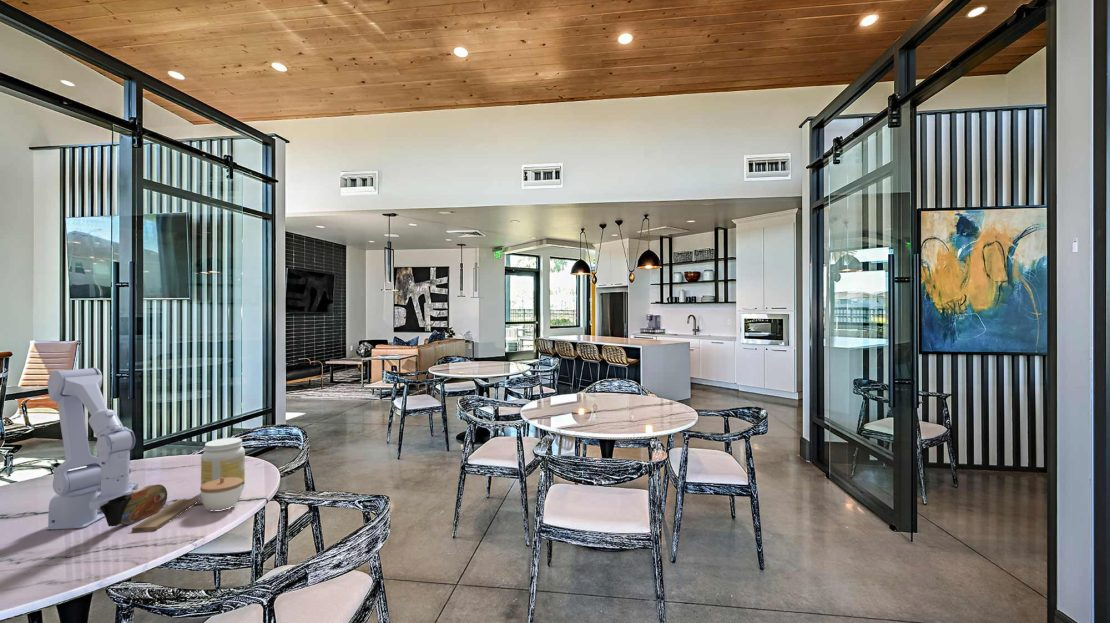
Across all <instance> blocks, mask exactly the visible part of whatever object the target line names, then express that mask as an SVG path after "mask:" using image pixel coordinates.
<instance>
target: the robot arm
mask: <svg viewBox="0 0 1110 623" xmlns="http://www.w3.org/2000/svg"><path fill="white" fill-rule="evenodd" d="M46 384H47V390H48V391H47V392H48V396H49V401H50V402H54V403H56V404H57V410H58V411H57V412H58V416H59V423H60V430H61V436H62V437H61V438H62V442H63V449H64V456H65V460H64V461H63V462H61V463H60V464H59V465H58V466H57V467H56V468H55V469H54V470H53V473H52V474H53V478H52V488H53V489H52V490H53V491H54V493H55V495H54V496H52V498H51V499H50V501H49V504H48V518H47V520H48V521H47V523H48V524H47V525H48V526H47V527H45V530H46V531H47V530H49V529H51V530H65V529H66V530H67V529H83V528H86V527H88V526H89V525H92V524H93V523H96V522H97V521H99V520H101V519H103V518H105V520H106V523H107V526H108V527H117V526H120V525H121V524H120V523H121V520H122V516H123V513H124V511H125V508H126V506H127V505H128V503H129V501H130V500H131V496H125V495H129V494H131V493H133V492H134V491H136V490H139V489H138V488H139V482H136V481H135V482H130V474H129V468H130V464H131V458H130V457H131V455H130V454H131V452H130V451H131V450H133V449H134V447H135V445H136V435H135V432H134V431H133V430H132V429H130V428H128V427H127V426H124V425H123V423H122V421H121V420H120V418H119V417H118V415H117V412H116V411H115V410H113V409H110V408H109V409H108V407H107V406H108V405H107V404H106V401H105V399H104V396H103V393H102V390H101V388H102V384H103V374H102V371H101V370H100V369H99V368H98V367H90V368H79V369H78V368H77V369H67V370H66V369H65V370H57V369H56V370H53V371H52V372H51V373H50V375H49V376H48V379H47V382H46ZM84 407H85V408H86V410H87V411H88V413H89V414H90V417H88V424H89V426H90V427H91V429H92V431H93V433H94V435H95V436H96V438H97V440H96V444H95V449H96V452H97V454H98V457H99V458H98V457H95V455H92V454H91V451H90V444H89V439H88V432H87V425H86V419H85V413H84ZM87 466H89V467H87ZM99 490H100V493H99V492H98V491H99ZM99 509H100V510H101V512H102V513H103V514H98V510H99Z"/></svg>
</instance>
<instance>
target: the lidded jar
mask: <svg viewBox="0 0 1110 623" xmlns="http://www.w3.org/2000/svg"><path fill="white" fill-rule="evenodd" d="M242 483H243V480H242V479H241V478H236V477H229V478H224V477H222V478H220V479H216V480H212V481H209V482H206V483H204V484H203V485H201V484H200V498H201V499H200V500H201V503H202V506H204V508H206V509H208V510H213V511H215V510H222V509H226V508H229V507H231V506H233V505H234V506H235V505H236V504H237V502H238V501H239V500H240V498H241V496H242V491H243V488H242ZM234 506H233V507H234Z"/></svg>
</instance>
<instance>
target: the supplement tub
mask: <svg viewBox="0 0 1110 623" xmlns="http://www.w3.org/2000/svg"><path fill="white" fill-rule="evenodd" d="M203 449H204V452H203V453H202V454H201V457H200V469H201V470H200V486H201V485H203V484H204V483H206V482H209V481H212V480H216V479H220V478H222V477H224V478H229V477H236V478H241V479H242V480H243V483H242V489H244V487H245V484H246V482H245V481H246V480H245V478H246V477H245V476H246V472H245V471H246V470H245V469H246V463H245V462H246V450H245V448H244V447H243V438H239V437H225V438H218V439H214V440H211V441H207V442H205V444H204V448H203Z"/></svg>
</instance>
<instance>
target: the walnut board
mask: <svg viewBox="0 0 1110 623" xmlns="http://www.w3.org/2000/svg"><path fill="white" fill-rule="evenodd" d="M198 501H199V502H200V498H192V499H189V498H188V499H177V500H176V501H174V502H173V503H171V504H169V505H168V506H166V507H164V508H162V509H161V510H160V511H158V512H157V513H155V514H152V515H150V516H148V517H147V518H146V519H145V520H144V519H143V521H142V522H139V523H138V524H136V525H135V526H133V527H132V528H131V532H132V533H133V532H148V531H149V532H151V531H152V532H153V531H158V530H159V529H161V528H162V527H164V526H165V525H167V524H168V523H170V522H171V521H173V520H174V519H176V518H177V517H178V516H177V515H179V514H180V513H181V512H183V511H185V510H186V509H188V508H189V507H190V506H192V505H194V504H195V503H196V502H198ZM199 502H198V503H199ZM195 505H196V504H195ZM195 505H194V506H195ZM192 507H193V506H192ZM189 509H190V508H189ZM189 509H188V510H189ZM186 511H187V510H186ZM186 511H185V512H186ZM183 513H184V512H183ZM180 515H181V514H180ZM180 515H179V516H180ZM176 516H177V517H176ZM175 517H176V518H175ZM173 518H174V519H173ZM172 519H173V520H172ZM170 520H171V521H170ZM169 521H170V522H169ZM166 523H167V524H166ZM163 525H164V526H163Z"/></svg>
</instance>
